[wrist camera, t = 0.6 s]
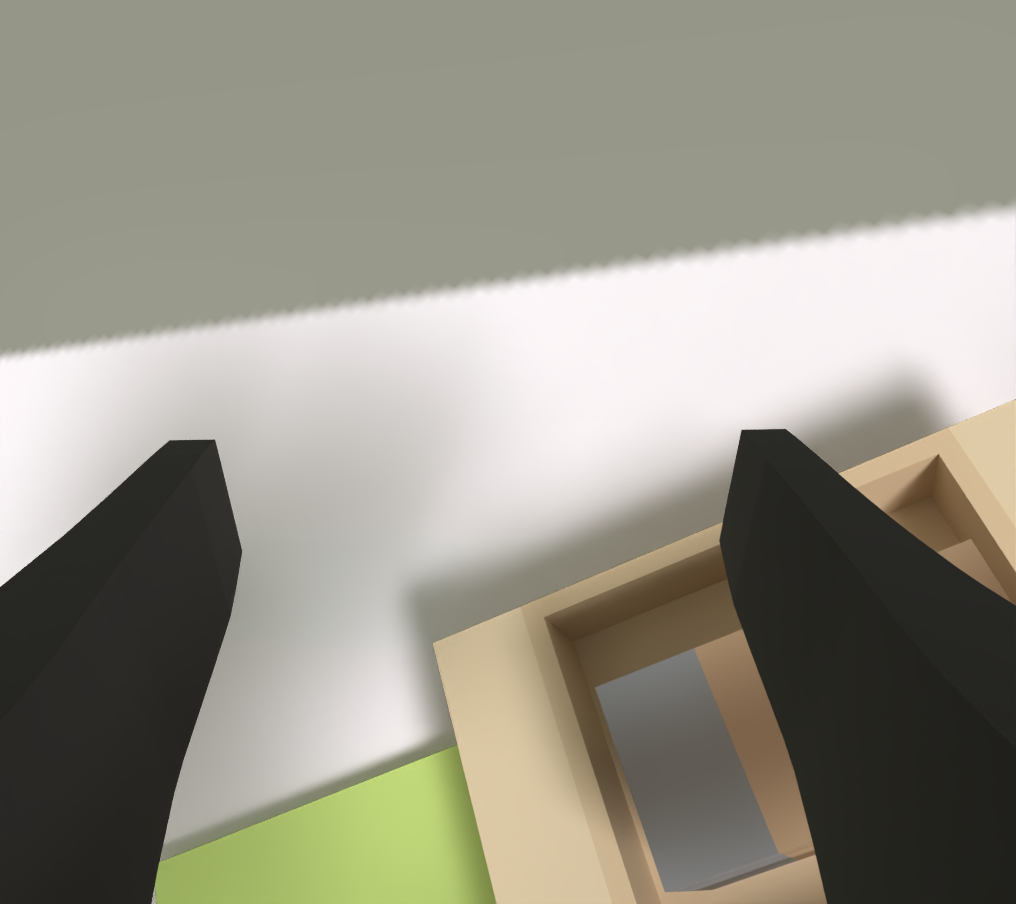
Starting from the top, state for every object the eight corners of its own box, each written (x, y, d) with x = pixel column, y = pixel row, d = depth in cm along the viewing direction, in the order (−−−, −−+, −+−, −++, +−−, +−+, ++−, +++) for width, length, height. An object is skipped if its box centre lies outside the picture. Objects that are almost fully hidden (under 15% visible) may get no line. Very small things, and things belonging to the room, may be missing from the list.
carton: (1362, 885, 20) (1450, 885, 17) (597, 1119, 23) (558, 1154, 20) (1034, 437, 26) (1056, 382, 23) (475, 667, 30) (432, 643, 27)
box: (1037, 778, 22) (1100, 740, 17) (712, 890, 24) (665, 892, 18) (944, 620, 25) (970, 538, 19) (654, 731, 26) (594, 687, 20)
